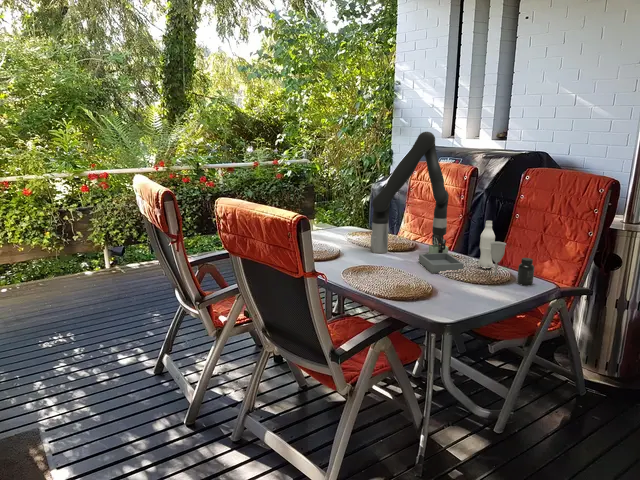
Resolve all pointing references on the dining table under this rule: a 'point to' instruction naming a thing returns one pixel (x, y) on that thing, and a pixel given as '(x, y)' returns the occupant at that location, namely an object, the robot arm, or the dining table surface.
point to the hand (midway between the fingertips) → (438, 254)
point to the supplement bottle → (525, 272)
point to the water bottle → (486, 245)
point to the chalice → (497, 253)
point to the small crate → (436, 249)
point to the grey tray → (440, 262)
